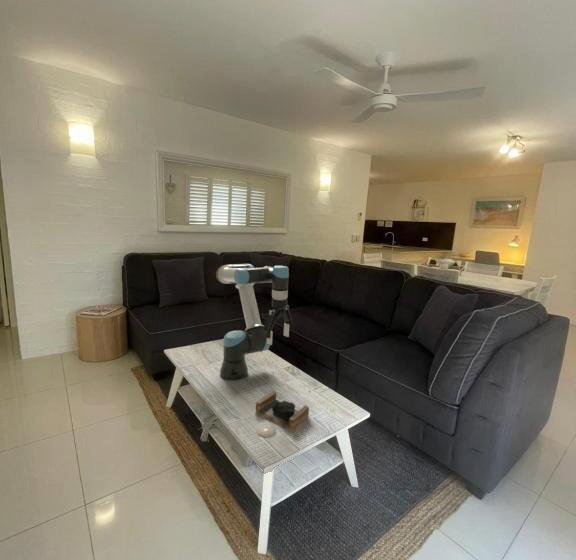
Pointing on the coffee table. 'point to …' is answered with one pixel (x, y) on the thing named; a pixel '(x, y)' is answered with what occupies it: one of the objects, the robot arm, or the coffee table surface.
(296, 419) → the rest
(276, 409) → the mineral
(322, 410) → the coffee table surface
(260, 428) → the cream glossy rounded part
